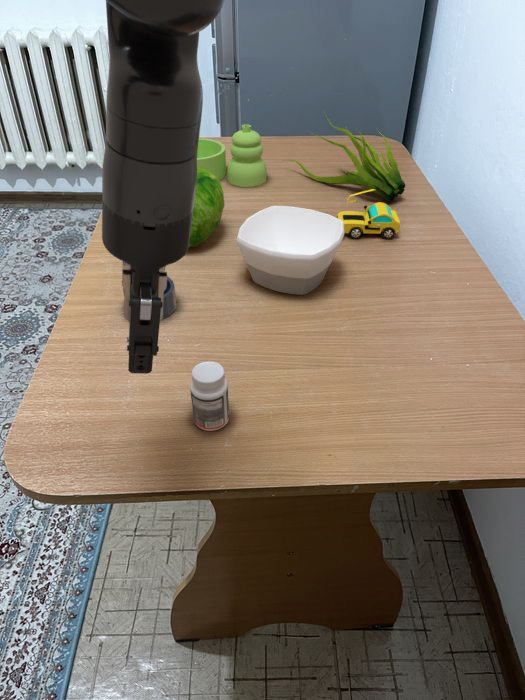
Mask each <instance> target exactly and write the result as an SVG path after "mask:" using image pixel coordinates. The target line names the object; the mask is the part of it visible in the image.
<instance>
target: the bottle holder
mask: <svg viewBox="0 0 525 700" xmlns="http://www.w3.org/2000/svg"><path fill="white" fill-rule="evenodd" d="M122 291H123V296H124V295H125V289H124V288H123V287H122ZM156 297H157V296H156ZM176 309H177V296H176V286H175V282H174V281H173V280H172V279H171V278H170V277H169V276H167V287H166V289H165V290H164V297H163V318H162V320H164V319H166V318H168V317H170V316H172V314H173V313H175V311H176Z"/></svg>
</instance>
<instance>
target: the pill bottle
mask: <svg viewBox="0 0 525 700" xmlns="http://www.w3.org/2000/svg"><path fill="white" fill-rule="evenodd" d="M225 374H226V373H225V368H224V367H223V366H222V365H221V364H220V363H218V362H216V361H203V362H200V363H197V364H196V365H195V366H193V368H192V369H191V382H190V384H189V386H190V387H189V390H190V399H191V407H192V408H191V410H192V418H193V422H194V424H195V425H196V426H197V428H199V429H201V430H203V431H208V432H213V431H217V430H220V429H222V428H223V427H226V425H227V424H228V423H229V420H230V401H229V384H228V380H227V379H226V375H225Z"/></svg>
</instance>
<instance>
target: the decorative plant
mask: <svg viewBox="0 0 525 700" xmlns="http://www.w3.org/2000/svg"><path fill="white" fill-rule="evenodd" d="M323 114H324V115H325V117H326V119H327V121H328V123H329V125H330V126H331V127H332V128H333V129H335V130H337V131H340V132H342V133H344V134H345V135H346V136H347V137H349V139H350V141H351V142H352V144H353V145H354V147H355V149H356V150H357V152H358V157H359V158H358V157H357V156H356V155H355V153H353V152H352V151H351V150H350V149H349V148H348V147H347V146H346V145H345V144H342V143H339V142H336V141H333V140H330V139H327V138H325V137H323V136H320V135H318V134H315V133H313V132H311V131H307V132H309V133H310V134H311V135H314V136H316V137H318V138H320V139H321V140H324V141H325V142H328V143H330V144H332V145H333V146H337V147H340V148H342V149H343V150H344V151H345V153H346V155H347V156H348V158H349V159H350V161H351V162H352V164H353V165H354V167H355V169H356V171H354V170H348V171H346V170H345V169H344V168H343V167H342V165H341V164H339V166H340V167H341V168H342V171H343V172H344V173H345V174H346V175H337V176H336V175H335V176H317V175H315V174H313V173H312V172H310V171H309V170H307V169H306V167H305V166H304V165H303V164H302V163H301V162H299V161H297V160H295V159H287V162H288V161H289V162H295V163H296V164H298V165H299V167H300V168H301V169H302V171H303V172H304V173H305V174H306V175H307V176H309V177H310V178H311V179H313V180H315V181H317V182H321V183H324V184H329V185H353V186H361V187H364V188H366V189H367V190H371V189H375V190H374V191H371V192H372V193H374V194H377V195H379V196H381V197H382V198H384V199H385V200H386V201H389V202H391V203H393V202H394V200H395V199H396V198H397V197H398V196H399V195H400V196H401V195H403V193H404V191H405V190H406V189H405V188H406V183H405V181H404V180H403V179H402V176H401V173H400V170H399V168H398V163H397V162H396V160H395V158H394V155H393V151H392V147H391V144H390V143H389V140H388V139H387V137H386V136H385V135H384V134H382V133H381V132H380V131H379V129H378V127H377V126H376V127H375V128H376V131H377V132H378V133H379V135H381V137H382V138H383V139H384V141H385V143H386V154H387V155H386V156H387V159H386V157H385V156H384V154H383V153H382V152H381V150H379V149H377V148H376V147H375V146H373V147H372V146H371V144H369V143H368V142H367V141H366V140H365V137H364V135H362V133H361V132H360V131H359V130H358V129H357V128H355V127H354V129H355V130H356V131H357V132H358V133H359V134H360V136H361V137H358V136H355V135H353V133H352V132H351V131H349V130H348V129H347V127H345V128H344V127H343V128H342V127H337V126H335V125H334V124H332V122H331V121H330V120H329V118H328V117H327V114H326V112H325V110H323ZM359 141H360V142H361V143H362V144H361V143H360V142H359ZM374 148H375V149H374ZM376 150H377V151H378V152H379V153H380V156H381V159H382V164H383V166H382V164H381V161H380V157H379V154H378V153H377V152H376ZM368 152H369V154H370V155H369V154H368ZM359 159H360V160H359ZM285 161H286V159H283V160H282V162H285ZM387 161H388V162H387ZM388 163H389V164H388Z"/></svg>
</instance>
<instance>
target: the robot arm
mask: <svg viewBox="0 0 525 700" xmlns="http://www.w3.org/2000/svg"><path fill="white" fill-rule="evenodd" d="M225 2H226V1H225V0H105V11H106V12H105V13H106V24H107V25H106V27H107V28H106V29H107V40H108V41H107V43H108V53H109V54H108V55H109V57H108V59H109V61H108V62H109V63H108V65H109V66H108V76H107V85H106V86H107V87H106V101H105V103H106V106H105V109H106V111H105V113H106V114H105V122H106V123H105V148H104V155H103V159H102V171H101V172H102V176H101V178H102V180H101V181H102V182H101V183H102V184H101V185H102V187H101V189H102V190H101V240H102V244H103V245H104V248H105V249H106V250H107V252H108V253H109V254H110V255H112V256H113V257H115V258H116V259H117V260H119V261H121V262H122V268H121V269H122V271H121V273H122V274H121V286H122V289H123V288H124V289H125V295H124V294H123V299H124V300H123V317H124V319H125V320H126V321H128V336H126V343H128V344H127V345H126V352H128V366H127V367H128V372H129V373H131V374H144V375H145V374H150V373H152V371H153V364H154V363H153V362H154V357H157V356H158V353H159V352H160V351H159V350H160V348H159V347H160V346H159V334H160V324H161V323H160V322H161V321H162V320H163V319H162V318H163V297H164V290H165V289H166V287H167V277H168V272H167V271H166V267H167V266H169V265H172V264H174V263H177V262H178V261H180V260H181V259H183V258H184V256H185V255H186V254H187V253H188V251H189V248H190V246H189V242H190V234H191V225H192V217H193V209H194V201H195V193H196V184H197V150H198V142H199V138H200V133H201V125H202V124H201V123H202V117H203V102H204V101H203V100H204V95H203V94H204V92H203V83H202V80H201V75H200V69H199V66H198V65H199V64H198V53H199V52H198V51H199V41H200V33H201V32H202V31H203V30H205V29H206V28H207V27H209V25H211V24H212V23H213V22H214V20H215V19H216V18H217V16H218V15H219V14H220V12H221V10H222V8H223V6H224V3H225ZM156 296H157V297H156Z"/></svg>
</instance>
